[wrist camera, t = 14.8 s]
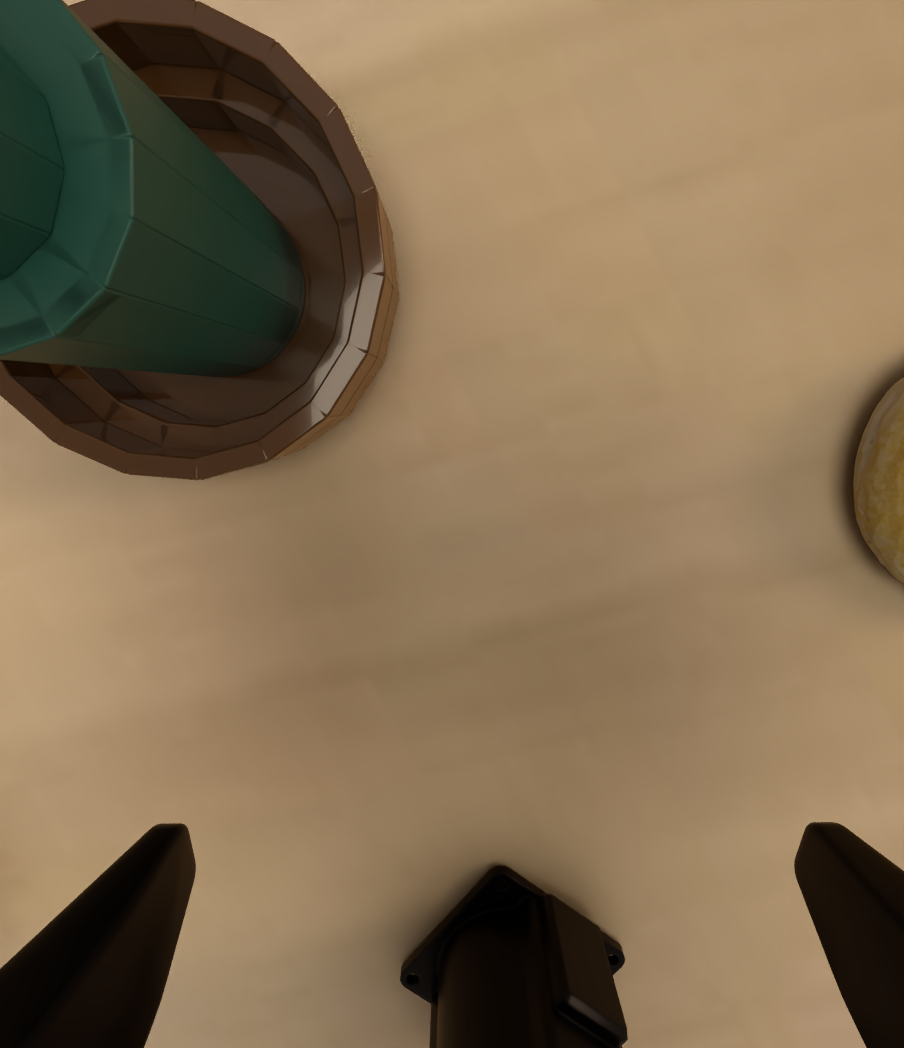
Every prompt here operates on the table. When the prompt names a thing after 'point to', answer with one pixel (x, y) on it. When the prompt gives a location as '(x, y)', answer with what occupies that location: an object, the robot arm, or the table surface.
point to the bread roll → (883, 481)
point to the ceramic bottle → (125, 219)
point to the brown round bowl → (304, 211)
